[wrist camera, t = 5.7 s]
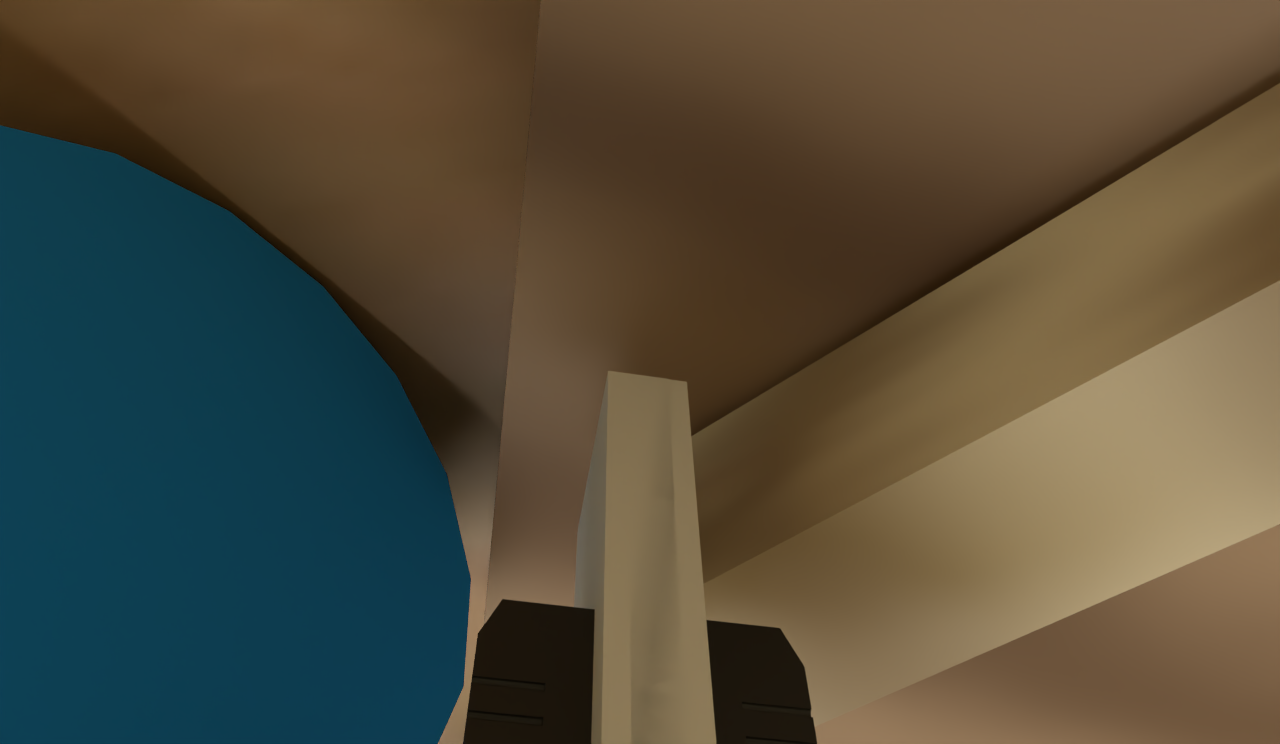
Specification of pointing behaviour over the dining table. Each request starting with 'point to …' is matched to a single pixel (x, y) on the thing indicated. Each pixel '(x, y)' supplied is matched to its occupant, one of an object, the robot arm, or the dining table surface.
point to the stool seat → (861, 281)
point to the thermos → (204, 483)
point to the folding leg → (1017, 432)
